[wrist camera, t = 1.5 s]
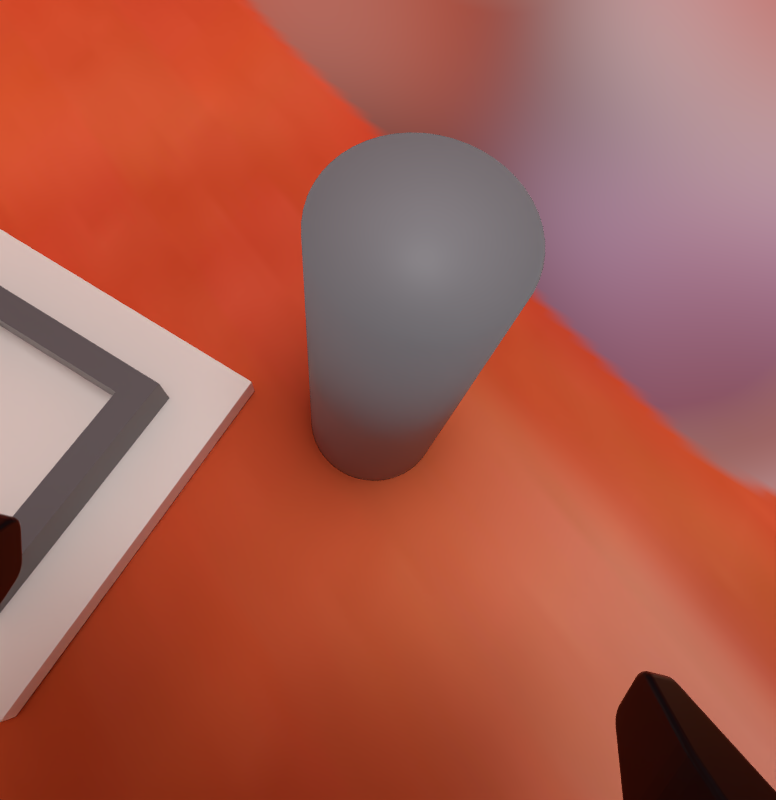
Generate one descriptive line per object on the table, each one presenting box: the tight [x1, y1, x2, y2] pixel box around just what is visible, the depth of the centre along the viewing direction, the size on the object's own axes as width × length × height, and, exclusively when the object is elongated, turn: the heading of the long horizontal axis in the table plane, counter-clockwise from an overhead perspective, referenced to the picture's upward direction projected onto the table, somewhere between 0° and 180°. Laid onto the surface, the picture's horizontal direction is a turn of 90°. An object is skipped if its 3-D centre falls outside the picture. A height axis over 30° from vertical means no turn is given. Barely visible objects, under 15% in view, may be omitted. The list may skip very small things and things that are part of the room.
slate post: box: [301, 133, 545, 481], centre depth 18 cm, size 5×5×12 cm
